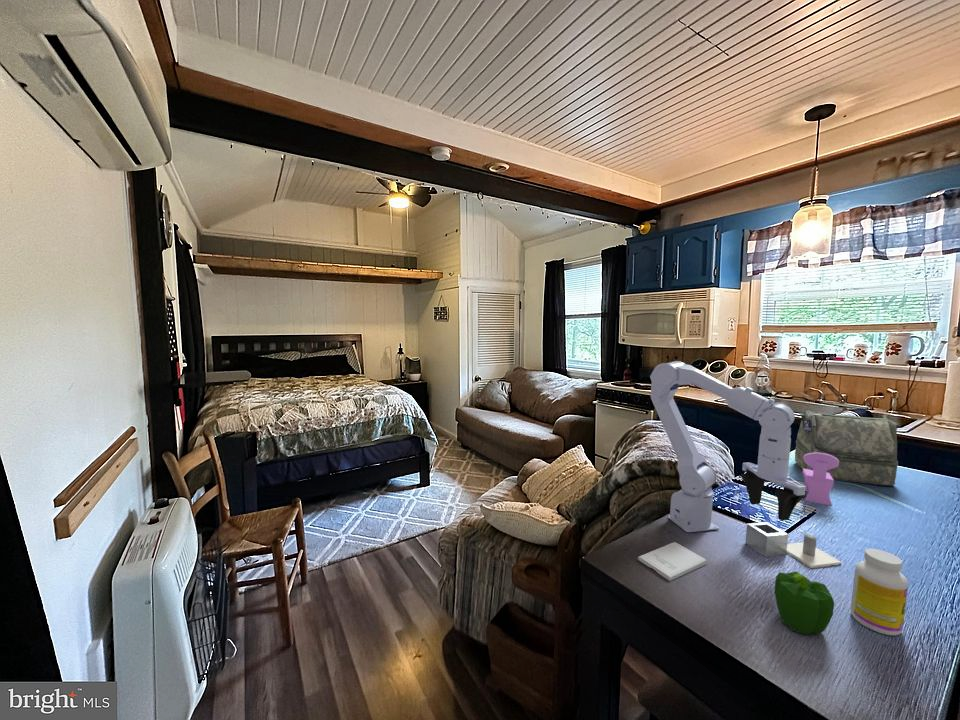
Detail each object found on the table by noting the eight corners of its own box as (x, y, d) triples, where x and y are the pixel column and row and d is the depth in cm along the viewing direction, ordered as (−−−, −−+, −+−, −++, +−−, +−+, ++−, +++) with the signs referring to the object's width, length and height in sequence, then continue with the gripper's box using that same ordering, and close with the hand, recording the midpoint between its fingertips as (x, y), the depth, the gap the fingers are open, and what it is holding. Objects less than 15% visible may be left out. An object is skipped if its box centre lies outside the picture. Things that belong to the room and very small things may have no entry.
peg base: (811, 568, 86) (813, 548, 86) (777, 547, 94) (779, 529, 93) (841, 564, 87) (843, 545, 87) (806, 544, 95) (807, 526, 95)
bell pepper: (801, 606, 75) (806, 557, 73) (843, 642, 66) (849, 587, 65) (759, 607, 74) (763, 558, 73) (795, 643, 66) (800, 588, 65)
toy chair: (830, 495, 122) (835, 448, 120) (836, 506, 115) (842, 457, 113) (796, 489, 126) (800, 444, 125) (800, 499, 119) (805, 452, 117)
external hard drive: (706, 566, 87) (669, 583, 82) (673, 547, 95) (637, 561, 89) (706, 559, 87) (670, 576, 81) (673, 541, 94) (638, 555, 89)
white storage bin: (765, 556, 90) (767, 536, 90) (745, 543, 96) (747, 523, 95) (786, 554, 91) (788, 534, 90) (765, 541, 96) (766, 521, 96)
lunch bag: (802, 477, 136) (808, 416, 133) (786, 460, 152) (792, 405, 150) (904, 491, 125) (912, 425, 123) (875, 471, 142) (882, 412, 139)
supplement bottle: (908, 643, 66) (918, 572, 65) (855, 627, 70) (863, 559, 68) (894, 618, 72) (902, 552, 70) (845, 604, 75) (853, 541, 74)
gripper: (819, 466, 84) (813, 525, 86) (761, 444, 99) (756, 496, 100) (792, 468, 83) (786, 528, 85) (736, 446, 97) (732, 498, 99)
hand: (768, 511), depth 92 cm, fingers open, 7 cm apart
